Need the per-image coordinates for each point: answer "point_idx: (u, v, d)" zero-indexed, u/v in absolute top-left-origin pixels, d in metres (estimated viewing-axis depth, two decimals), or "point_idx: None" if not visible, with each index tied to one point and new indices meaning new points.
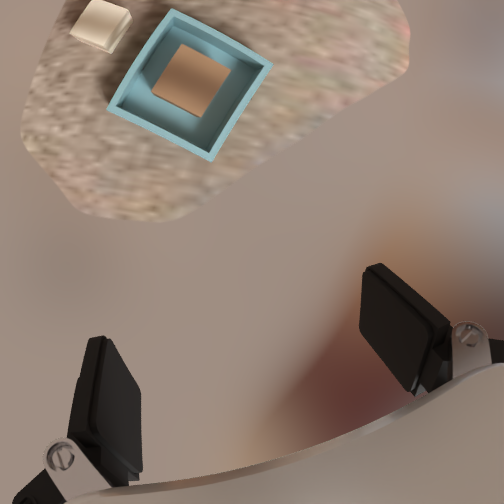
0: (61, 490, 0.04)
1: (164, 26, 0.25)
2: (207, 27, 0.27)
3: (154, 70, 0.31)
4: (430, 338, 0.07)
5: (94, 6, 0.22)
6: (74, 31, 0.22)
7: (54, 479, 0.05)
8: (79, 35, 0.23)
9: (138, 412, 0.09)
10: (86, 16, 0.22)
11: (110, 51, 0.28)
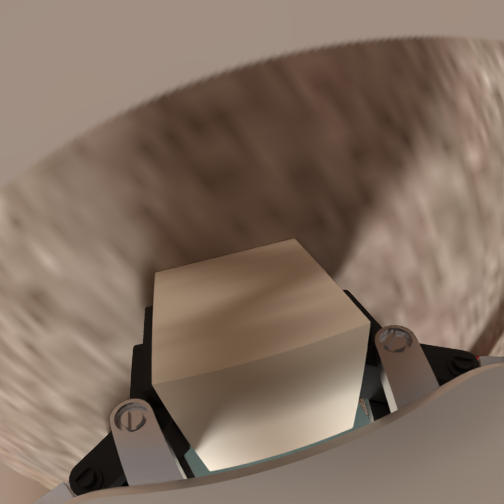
0: (119, 450, 0.05)
1: None
2: None
3: None
4: None
5: (330, 363, 0.07)
6: (177, 395, 0.06)
7: (116, 438, 0.06)
8: (180, 419, 0.07)
9: None
10: (271, 378, 0.07)
11: None
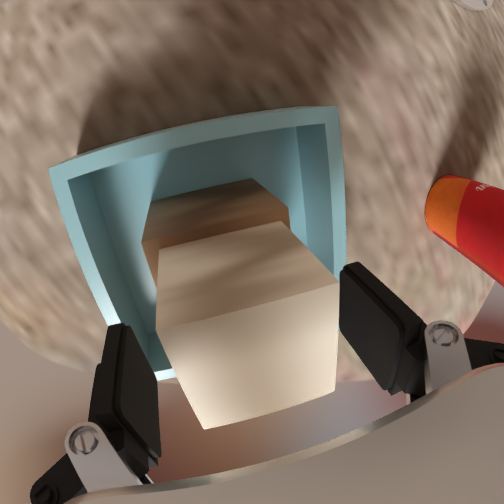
0: (80, 474, 0.05)
1: (293, 125, 0.13)
2: (341, 201, 0.15)
3: (191, 161, 0.16)
4: (402, 337, 0.08)
5: (306, 318, 0.08)
6: (176, 342, 0.08)
7: (74, 462, 0.05)
8: (178, 367, 0.08)
9: (155, 399, 0.10)
10: (255, 329, 0.08)
11: None
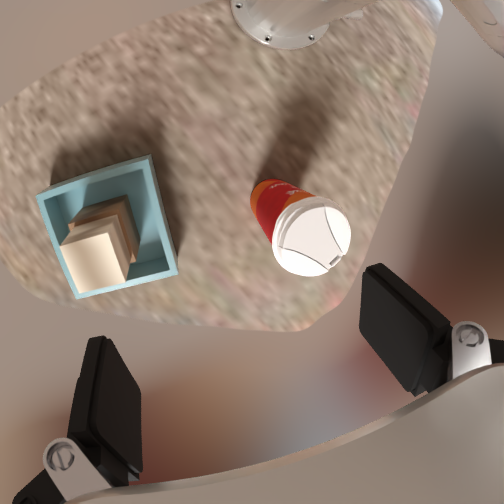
0: (61, 490, 0.04)
1: (127, 172, 0.29)
2: (156, 203, 0.31)
3: (98, 187, 0.32)
4: (430, 338, 0.07)
5: (100, 245, 0.24)
6: (65, 250, 0.24)
7: (54, 479, 0.05)
8: (66, 260, 0.24)
9: (138, 412, 0.09)
10: (85, 247, 0.24)
11: None
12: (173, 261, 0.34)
